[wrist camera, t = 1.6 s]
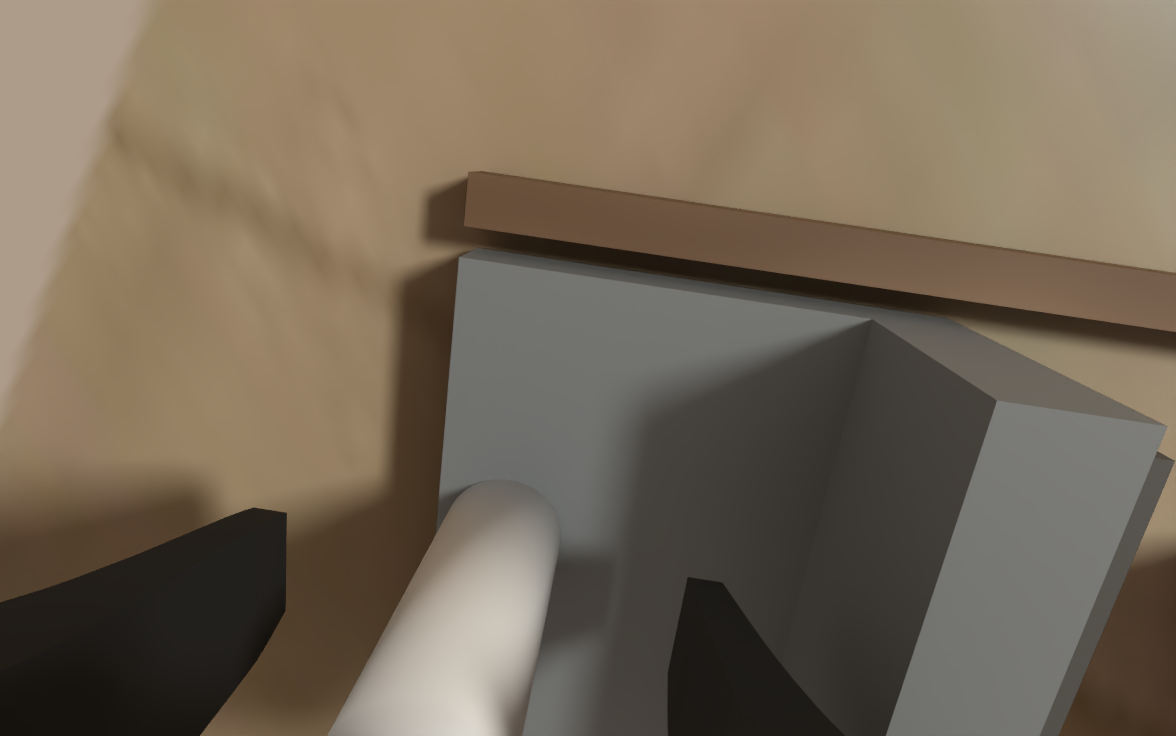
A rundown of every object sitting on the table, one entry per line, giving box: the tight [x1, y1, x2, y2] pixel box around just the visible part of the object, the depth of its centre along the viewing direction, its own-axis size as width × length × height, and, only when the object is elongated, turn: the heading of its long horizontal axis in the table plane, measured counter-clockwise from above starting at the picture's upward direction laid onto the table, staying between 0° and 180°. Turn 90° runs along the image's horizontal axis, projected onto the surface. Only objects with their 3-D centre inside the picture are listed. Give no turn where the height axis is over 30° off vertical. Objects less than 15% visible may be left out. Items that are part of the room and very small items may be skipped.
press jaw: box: [327, 248, 1175, 736], centre depth 12 cm, size 11×10×8 cm
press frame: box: [464, 171, 1176, 332], centre depth 12 cm, size 14×26×7 cm, turn 82°
